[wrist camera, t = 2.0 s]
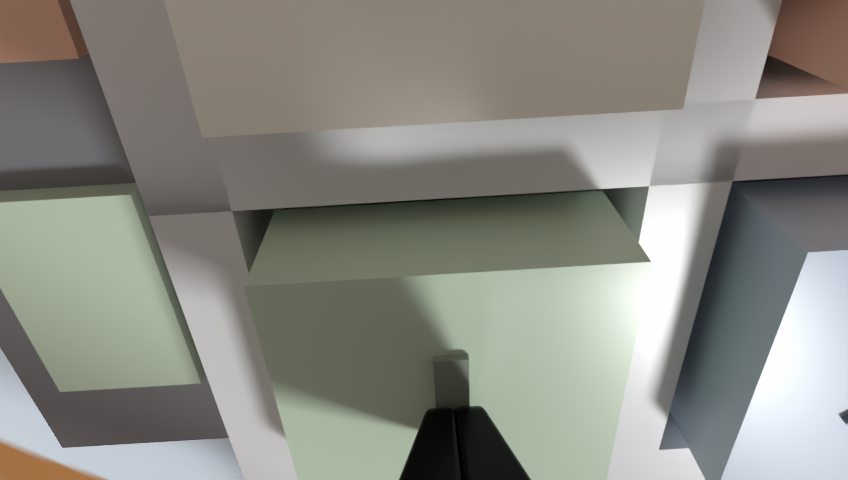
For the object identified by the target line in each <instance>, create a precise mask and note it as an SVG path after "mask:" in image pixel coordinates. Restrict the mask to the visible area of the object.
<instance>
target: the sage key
mask: <svg viewBox="0 0 848 480" xmlns="http://www.w3.org/2000/svg"><path fill="white" fill-rule="evenodd" d="M650 267H651V260H650V259H649V257H648V256H647V254H646V253H645V251H644V250H643V249H642V247H641V246H640V244H639V243H638V241H637V240H636V238H635V237H634V235H633V234H632V232H631V231H630V229H629V228H628V227H627V225H626V224H625V222H624V221H623V219H622V218H621V216H620V215H619V213H618V212H617V210H616V209H615V208H614V206H613V205H612V203H611V202H610V200H609V199H608V197H607V196H606V194H605V193H604V191H589V192H572V193H555V194H539V195H522V196H505V197H488V198H472V199H455V200H438V201H422V202H405V203H388V204H372V205H355V206H338V207H322V208H305V209H288V210H275V211H274V214H273V216H272V218H271V221H270V223H269V226H268V228H267V231H266V233H265V236H264V238H263V241H262V243H261V245H260V248H259V250H258V253H257V255H256V258H255V260H254V263H253V265H252V267H251V270H250V272H249V275H248V277H247V280H246V282H245V285H244V289H245V292H246V296H247V299H248V303H249V307H250V310H251V314H252V317H253V321H254V324H255V328H256V332H257V335H258V339H259V342H260V346H261V350H262V353H263V357H264V360H265V364H266V367H267V371H268V375H269V378H270V382H271V385H272V389H273V392H274V396H275V400H276V403H277V407H278V410H279V414H280V418H281V421H282V425H283V428H284V432H285V435H286V439H287V443H288V446H289V450H290V453H291V457H292V460H293V464H294V468H295V471H296V475H297V478H298V480H399V478H400V475H401V473H402V470H403V468H404V465H405V463H406V460H407V458H408V455H409V453H410V450H411V447H412V445H413V442H414V440H415V437H416V435H417V432H418V430H419V427H420V425H421V422H422V419H423V417H424V415H425V413H426V411H427V410H428V409H431V408H447V407H450V408H452V409H453V410H454V411H455V410H456V409H457V408H458V407H464V406H481V407H483V408H484V409H485V410H486V412H487V413H488V415H489V416H490V418H491V419H492V421H493V422H494V424H495V425H496V427H497V428H498V430H499V431H500V433H501V434H502V436H503V437H504V439H505V440H506V442H507V444H508V445H509V447H510V448H511V450H512V451H513V453H514V454H515V456H516V457H517V459H518V460H519V462H520V463H521V465H522V466H523V468H524V469H525V471H526V472H527V474H528V475H529V477H530V479H531V480H607V476H608V471H609V466H610V461H611V456H612V452H613V447H614V442H615V437H616V432H617V427H618V422H619V418H620V413H621V408H622V403H623V398H624V393H625V388H626V384H627V379H628V374H629V369H630V364H631V359H632V354H633V350H634V345H635V340H636V335H637V330H638V325H639V320H640V316H641V311H642V306H643V301H644V296H645V291H646V286H647V281H648V277H649V272H650Z"/></svg>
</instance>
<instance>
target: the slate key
mask: <svg viewBox="0 0 848 480" xmlns="http://www.w3.org/2000/svg"><path fill="white" fill-rule="evenodd" d="M670 413H671V415H672V416H673V418H674V420H675V422H676V424H677V426H678V428H679V430H680V432H681V434H682V436H683V438H684V440H685V441H686V443H687V445H688V447H689V449H690V451H691V453H692V455H693V457H694V459H695V461H696V463H697V465H698V466H699V468H700V470H701V472H702V474H703V476H704V478H705V480H848V176H839V177H822V178H806V179H789V180H772V181H755V182H739V183H732V185H731V189H730V192H729V196H728V200H727V203H726V207H725V211H724V214H723V218H722V222H721V225H720V229H719V233H718V236H717V240H716V243H715V247H714V251H713V254H712V258H711V262H710V265H709V269H708V273H707V276H706V280H705V284H704V287H703V291H702V294H701V298H700V302H699V305H698V309H697V313H696V316H695V320H694V324H693V327H692V331H691V335H690V338H689V342H688V345H687V349H686V353H685V356H684V360H683V364H682V367H681V371H680V375H679V378H678V382H677V385H676V389H675V393H674V396H673V400H672V404H671V407H670Z"/></svg>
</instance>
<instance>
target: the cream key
mask: <svg viewBox="0 0 848 480" xmlns="http://www.w3.org/2000/svg"><path fill="white" fill-rule="evenodd" d="M164 2H165V6H166V9H167V13H168V17H169V20H170V24H171V27H172V31H173V35H174V38H175V42H176V45H177V49H178V52H179V56H180V60H181V63H182V67H183V70H184V74H185V77H186V81H187V85H188V88H189V92H190V95H191V99H192V103H193V106H194V110H195V113H196V117H197V120H198V124H199V128H200V131H201V135H202V138H206V137H223V136H239V135H256V134H273V133H290V132H306V131H323V130H340V129H357V128H373V127H390V126H407V125H424V124H440V123H457V122H474V121H491V120H507V119H524V118H541V117H558V116H574V115H591V114H608V113H625V112H641V111H658V110H675V109H683V106H684V102H685V97H686V92H687V87H688V82H689V77H690V72H691V68H692V63H693V58H694V53H695V48H696V43H697V38H698V34H699V29H700V24H701V19H702V14H703V9H704V4H705V0H164Z"/></svg>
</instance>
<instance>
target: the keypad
mask: <svg viewBox="0 0 848 480" xmlns="http://www.w3.org/2000/svg"><path fill="white" fill-rule="evenodd" d="M781 3H782V0H705V4H704V9H703V14H702V19H701V24H700V29H699V34H698V38H697V43H696V48H695V53H694V58H693V63H692V68H691V72H690V77H689V82H688V87H687V92H686V97H685V102H684V106H683V109H675V110H658V111H641V112H625V113H608V114H591V115H574V116H558V117H541V118H524V119H507V120H491V121H474V122H457V123H440V124H424V125H407V126H390V127H373V128H357V129H340V130H323V131H306V132H290V133H273V134H256V135H239V136H223V137H206V138H202V135H201V131H200V128H199V124H198V120H197V117H196V113H195V110H194V106H193V103H192V99H191V95H190V92H189V88H188V85H187V81H186V77H185V74H184V70H183V67H182V63H181V60H180V56H179V52H178V49H177V45H176V42H175V38H174V35H173V31H172V27H171V24H170V20H169V17H168V13H167V9H166V6H165V2H164V0H0V347H1V349H2V351H3V352H4V354H5V355H6V357H7V359H8V360H9V362H10V364H11V365H12V367H13V368H14V370H15V372H16V373H17V375H18V376H19V378H20V380H21V381H22V383H23V385H24V386H25V388H26V389H27V391H28V393H29V394H30V396H31V398H32V399H33V401H34V402H35V404H36V406H37V407H38V409H39V410H40V412H41V414H42V415H43V417H44V419H45V420H46V422H47V423H48V425H49V427H50V428H51V430H52V431H53V433H54V435H55V436H56V438H57V440H58V441H59V443H60V444H61V446H62V448H67V447H83V446H100V445H116V444H133V443H149V442H166V441H183V440H199V439H216V438H229V439H230V442H231V445H232V448H233V450H234V453H235V456H236V459H237V461H238V464H239V467H240V469H241V472H242V475H243V478H244V480H298V478H297V475H296V471H295V468H294V464H293V460H292V457H291V453H290V450H289V446H288V443H287V439H286V435H285V432H284V428H283V425H282V421H281V418H280V414H279V410H278V407H277V403H276V400H275V396H274V392H273V389H272V385H271V382H270V378H269V375H268V371H267V367H266V364H265V360H264V357H263V353H262V350H261V346H260V342H259V339H258V335H257V332H256V328H255V324H254V321H253V317H252V314H251V310H250V307H249V303H248V299H247V296H246V292H245V289H244V285H245V282H246V280H247V277H248V275H249V272H250V270H251V267H252V265H253V263H254V260H255V258H256V255H257V253H258V250H259V248H260V245H261V243H262V241H263V238H264V236H265V233H266V231H267V228H268V226H269V223H270V221H271V218H272V216H273V214H274V211H275V210H288V209H305V208H322V207H338V206H355V205H372V204H388V203H405V202H422V201H438V200H455V199H472V198H488V197H505V196H522V195H539V194H555V193H572V192H589V191H604V193H605V194H606V196H607V197H608V199H609V200H610V202H611V203H612V205H613V206H614V208H615V209H616V210H617V212H618V213H619V215H620V216H621V218H622V219H623V221H624V222H625V224H626V225H627V227H628V228H629V229H630V231H631V232H632V234H633V235H634V237H635V238H636V240H637V241H638V243H639V244H640V246H641V247H642V249H643V250H644V251H645V253H646V254H647V256H648V257H649V259H650V260H651V267H650V272H649V277H648V281H647V286H646V291H645V296H644V301H643V306H642V311H641V316H640V320H639V325H638V330H637V335H636V340H635V345H634V350H633V354H632V359H631V364H630V369H629V374H628V379H627V384H626V388H625V393H624V398H623V403H622V408H621V413H620V418H619V422H618V427H617V432H616V437H615V442H614V447H613V452H612V456H611V461H610V466H609V471H608V476H607V480H705V478H704V476H703V474H702V472H701V470H700V468H699V466H698V465H697V463H696V461H695V459H694V457H693V455H692V453H691V451H690V449H689V447H688V445H687V443H686V441H685V440H684V438H683V436H682V434H681V432H680V430H679V428H678V426H677V424H676V422H675V420H674V418H673V416H672V415H671V413H670V407H671V404H672V400H673V396H674V393H675V389H676V385H677V382H678V378H679V375H680V371H681V367H682V364H683V360H684V356H685V353H686V349H687V345H688V342H689V338H690V335H691V331H692V327H693V324H694V320H695V316H696V313H697V309H698V305H699V302H700V298H701V294H702V291H703V287H704V284H705V280H706V276H707V273H708V269H709V265H710V262H711V258H712V254H713V251H714V247H715V243H716V240H717V236H718V233H719V229H720V225H721V222H722V218H723V214H724V211H725V207H726V203H727V200H728V196H729V192H730V189H731V185H732V183H739V182H755V181H772V180H789V179H806V178H822V177H839V176H848V89H846V88H843V87H841V86H839V85H836V84H834V83H832V82H829V81H827V80H825V79H822V78H820V77H818V76H815V75H813V74H811V73H808V72H806V71H804V70H801V69H799V68H797V67H795V66H792V65H790V64H788V63H785V62H783V61H781V60H778V59H776V58H774V57H771V56H769V55H767V54H768V50H769V47H770V43H771V40H772V36H773V32H774V29H775V25H776V21H777V18H778V14H779V10H780V7H781Z"/></svg>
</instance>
